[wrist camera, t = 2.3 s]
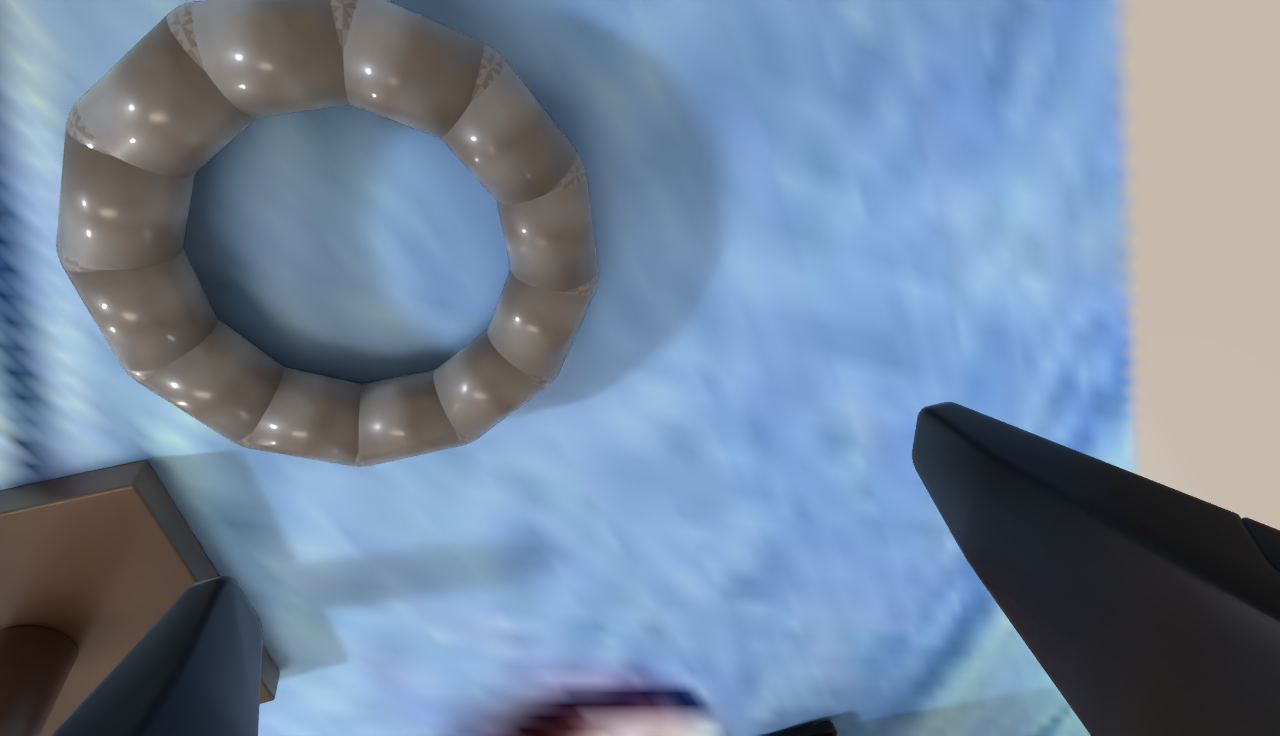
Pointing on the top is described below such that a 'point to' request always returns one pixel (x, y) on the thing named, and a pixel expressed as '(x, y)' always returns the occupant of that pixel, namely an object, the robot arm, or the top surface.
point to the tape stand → (87, 587)
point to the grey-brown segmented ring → (292, 82)
